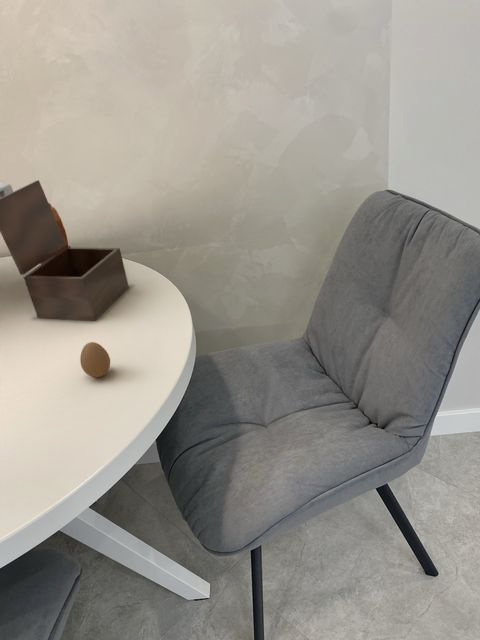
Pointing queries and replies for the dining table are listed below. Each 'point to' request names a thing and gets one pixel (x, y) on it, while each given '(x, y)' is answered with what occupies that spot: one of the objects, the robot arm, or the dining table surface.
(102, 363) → the egg
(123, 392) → the dining table surface
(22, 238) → the chest lid
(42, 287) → the chest
